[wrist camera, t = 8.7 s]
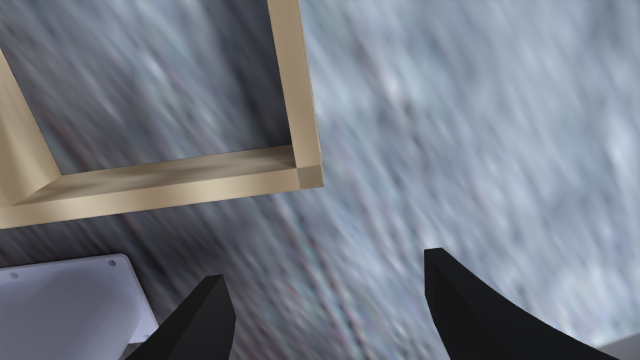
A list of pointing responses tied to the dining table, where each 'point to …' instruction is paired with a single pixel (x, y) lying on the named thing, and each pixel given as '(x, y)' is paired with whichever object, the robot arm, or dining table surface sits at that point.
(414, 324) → the dining table surface
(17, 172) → the birch frame
